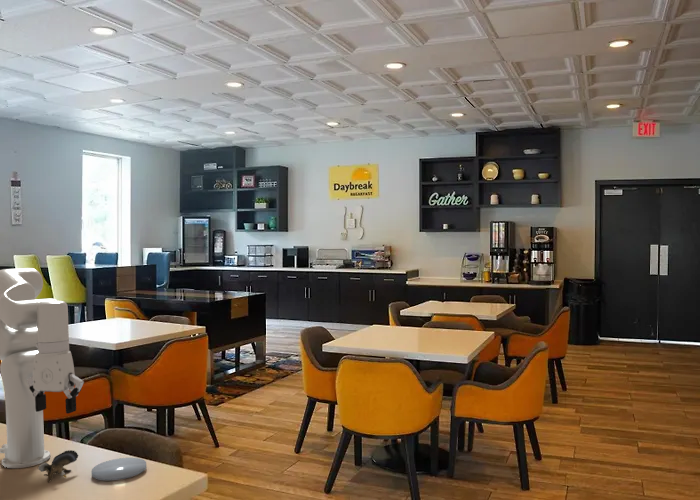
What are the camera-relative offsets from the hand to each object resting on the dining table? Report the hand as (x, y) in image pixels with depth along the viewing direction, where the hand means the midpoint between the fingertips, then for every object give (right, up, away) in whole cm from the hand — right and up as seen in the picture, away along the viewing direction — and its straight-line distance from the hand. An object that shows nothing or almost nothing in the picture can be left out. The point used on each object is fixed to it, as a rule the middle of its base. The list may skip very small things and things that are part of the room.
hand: (56, 411), depth 166 cm
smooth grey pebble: (+16, -18, +3) cm, 24 cm away
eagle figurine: (0, -18, +1) cm, 18 cm away
